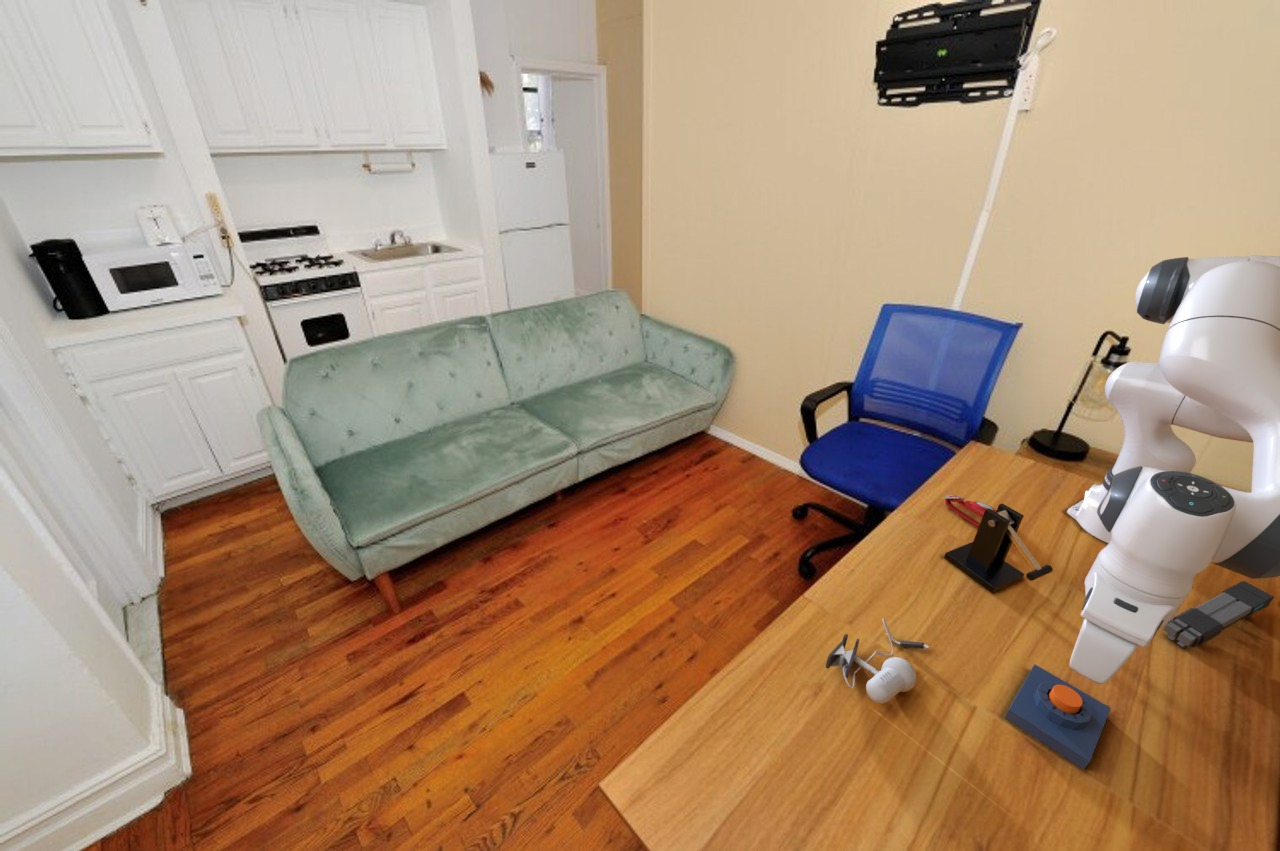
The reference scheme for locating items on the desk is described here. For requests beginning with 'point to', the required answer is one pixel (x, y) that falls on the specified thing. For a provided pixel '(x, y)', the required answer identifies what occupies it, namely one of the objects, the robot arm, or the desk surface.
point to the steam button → (1065, 699)
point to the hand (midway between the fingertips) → (1089, 659)
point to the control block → (1058, 718)
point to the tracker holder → (967, 507)
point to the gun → (1217, 614)
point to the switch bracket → (989, 551)
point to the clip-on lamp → (885, 682)
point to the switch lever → (1025, 552)
